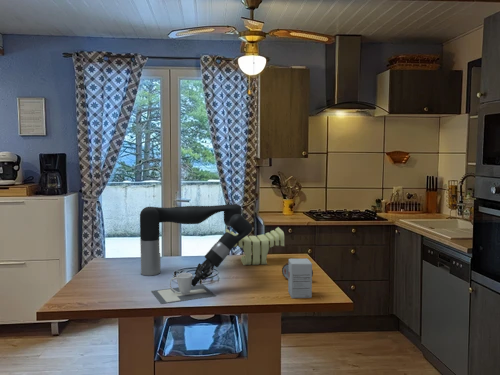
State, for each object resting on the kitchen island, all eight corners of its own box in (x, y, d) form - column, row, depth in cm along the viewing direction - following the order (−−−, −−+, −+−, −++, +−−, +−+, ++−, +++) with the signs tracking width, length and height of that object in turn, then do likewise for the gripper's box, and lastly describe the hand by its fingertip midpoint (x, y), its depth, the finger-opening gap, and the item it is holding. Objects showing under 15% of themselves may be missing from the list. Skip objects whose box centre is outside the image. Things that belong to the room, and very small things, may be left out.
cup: (192, 296, 197) (191, 277, 196) (168, 296, 197) (168, 278, 196) (194, 290, 204) (193, 272, 203) (171, 290, 204) (170, 272, 203)
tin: (313, 281, 220) (313, 264, 219) (311, 283, 217) (311, 265, 216) (283, 277, 226) (283, 260, 225) (281, 279, 223) (281, 262, 222)
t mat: (202, 284, 214) (202, 284, 214) (216, 296, 198) (216, 295, 198) (150, 291, 204) (150, 290, 204) (161, 304, 188) (161, 303, 188)
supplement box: (287, 291, 204) (288, 258, 203) (307, 291, 205) (308, 258, 204) (291, 298, 195) (291, 263, 194) (312, 298, 196) (312, 263, 195)
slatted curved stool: (228, 267, 244) (228, 233, 242) (225, 259, 260) (225, 228, 258) (284, 265, 248) (284, 232, 247) (278, 258, 264) (278, 227, 262)
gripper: (229, 262, 201) (202, 294, 197) (217, 255, 213) (193, 285, 209) (217, 251, 198) (190, 284, 194) (206, 245, 210) (181, 275, 206)
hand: (191, 284), depth 201 cm, fingers closed
